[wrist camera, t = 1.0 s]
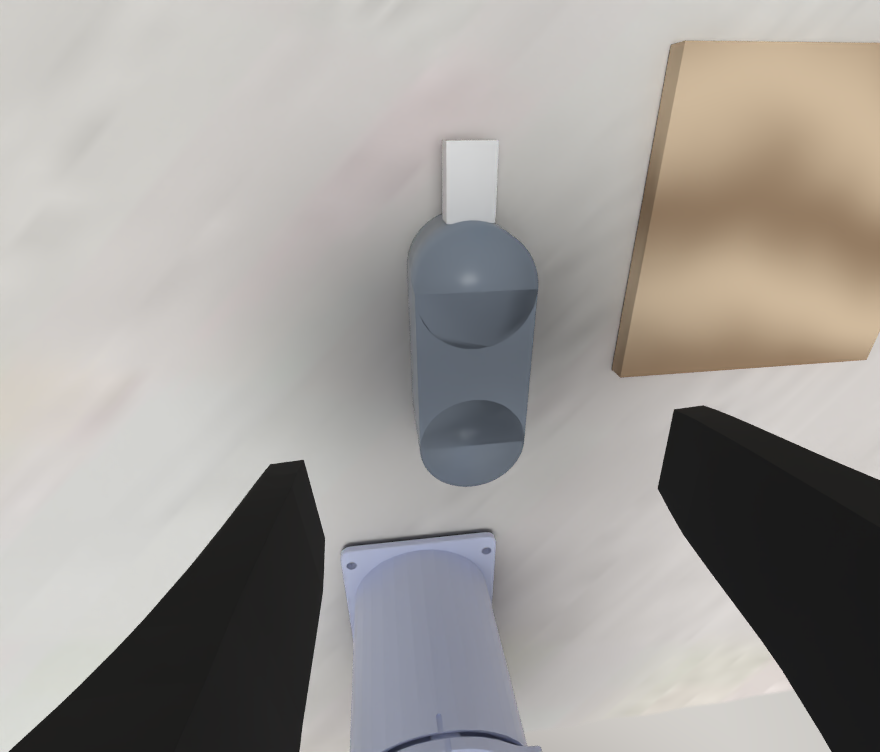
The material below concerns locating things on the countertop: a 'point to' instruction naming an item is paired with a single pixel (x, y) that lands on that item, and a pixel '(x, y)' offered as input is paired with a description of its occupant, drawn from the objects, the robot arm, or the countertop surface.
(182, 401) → the countertop surface
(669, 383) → the countertop surface
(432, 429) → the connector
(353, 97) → the countertop surface
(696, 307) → the cork pad
